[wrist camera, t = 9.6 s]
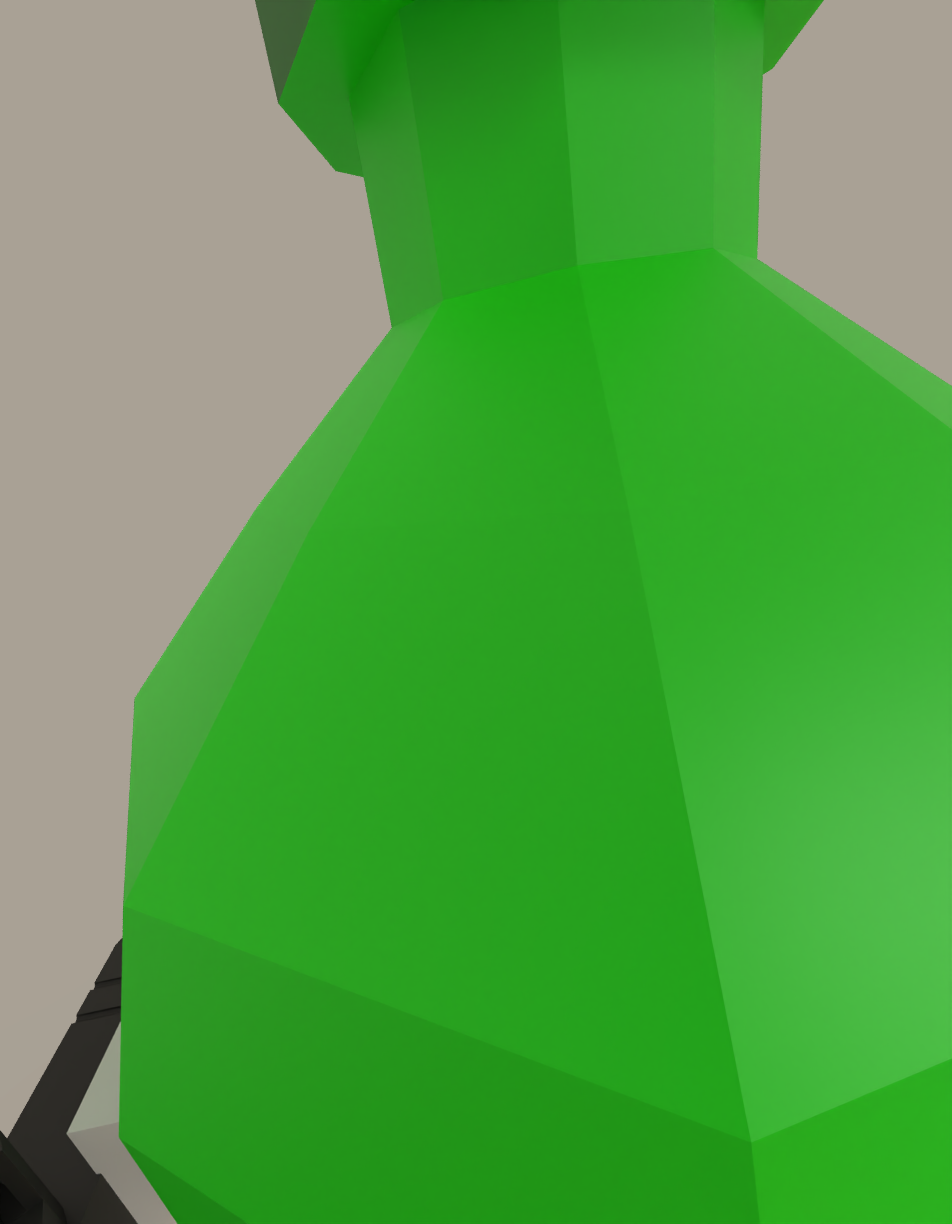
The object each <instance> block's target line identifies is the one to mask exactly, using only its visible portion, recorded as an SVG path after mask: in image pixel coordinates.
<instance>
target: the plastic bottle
mask: <svg viewBox="0 0 952 1224" xmlns="http://www.w3.org/2000/svg"><path fill="white" fill-rule="evenodd" d="M255 2H256V7H257V11H258V15H259V20H260V24H261V29H262V33H263V38H264V41H265V46H266V51H267V56H268V60H269V64H270V69H271V73H272V78H273V82H274V86H275V91H276V96H277V100H278V103H279V105H280V106H281V107H282V108H283V109H284V111H285V112H286V113H287V114H288V115H289V116H290V118H291V119H292V120H293V121H294V122H295V124H296V125H297V126H298V127H299V128H300V130H301V131H302V132H303V133H304V134H305V135H306V136H307V138H308V139H309V140H310V141H311V142H312V144H313V145H314V146H315V147H316V148H317V150H318V151H319V152H320V153H321V154H322V155H323V156H324V158H325V159H326V160H327V161H328V162H329V164H330V165H331V166H332V167H333V168H334V169H335V171H338V172H343V173H347V174H352V175H356V176H361V177H364V181H365V187H366V192H367V197H368V203H369V208H370V213H371V219H372V224H373V229H374V235H375V240H376V245H377V251H378V256H379V262H380V267H381V272H382V277H383V283H384V288H385V293H386V299H387V304H388V309H389V315H390V320H391V325H392V328H391V330H390V331H389V332H388V334H387V335H386V336H385V338H384V339H383V340H382V342H381V343H380V345H379V346H378V347H377V348H376V350H375V351H374V352H373V354H372V355H371V356H370V358H369V359H368V360H367V362H366V363H365V364H364V366H363V367H362V368H361V370H360V371H359V372H358V374H357V375H356V376H355V378H354V379H353V380H352V382H351V383H350V384H349V386H348V387H347V388H346V390H345V391H344V392H343V394H342V395H341V396H340V398H339V399H338V400H337V402H336V403H335V404H334V406H333V407H332V408H331V410H330V411H329V412H328V414H327V415H326V416H325V418H324V419H323V420H322V422H321V423H320V424H319V426H318V427H317V428H316V430H315V431H314V432H313V434H312V435H311V436H310V437H309V439H308V440H307V441H306V443H305V444H304V445H303V447H302V448H301V449H300V451H299V452H298V454H297V455H296V456H295V457H294V459H293V460H292V461H291V463H290V464H289V465H288V467H287V468H286V469H285V471H284V472H283V473H282V475H281V476H280V477H279V479H278V480H277V481H276V483H275V484H274V485H273V487H272V488H271V489H270V491H269V492H268V493H267V495H266V496H265V497H264V499H263V500H262V502H261V503H260V504H259V506H258V507H257V508H256V510H255V511H254V513H253V514H252V516H251V518H250V519H249V521H248V522H247V524H246V526H245V527H244V529H243V530H242V532H241V533H240V535H239V536H238V538H237V540H236V541H235V542H234V544H233V546H232V547H231V549H230V550H229V552H228V553H227V555H226V557H225V558H224V560H223V561H222V563H221V564H220V566H219V568H218V569H217V571H216V572H215V574H214V576H213V577H212V579H211V580H210V582H209V583H208V585H207V586H206V588H205V589H204V591H203V592H202V594H201V596H200V597H199V599H198V600H197V602H196V603H195V605H194V607H193V608H192V610H191V611H190V613H189V615H188V616H187V618H186V619H185V621H184V622H183V624H182V625H181V627H180V629H179V630H178V632H177V633H176V635H175V636H174V638H173V639H172V641H171V643H170V644H169V646H168V647H167V649H166V651H165V652H164V653H163V655H162V657H161V658H160V660H159V661H158V663H157V664H156V666H155V668H154V669H153V671H152V672H151V674H150V675H149V677H148V678H147V680H146V682H145V683H144V685H143V686H142V688H141V689H140V691H139V693H138V694H137V696H136V697H135V701H134V719H133V739H132V756H131V774H130V792H129V810H128V828H127V829H128V830H127V846H126V847H127V848H126V865H125V866H126V867H125V883H124V901H123V942H122V992H121V1041H120V1091H119V1139H120V1140H121V1142H122V1143H123V1145H124V1146H125V1148H126V1149H127V1151H128V1152H129V1153H130V1155H131V1156H132V1158H133V1159H134V1161H135V1162H136V1164H137V1165H138V1167H139V1168H140V1170H141V1171H142V1173H143V1174H144V1176H145V1177H146V1178H147V1180H148V1181H149V1183H150V1184H151V1186H152V1187H153V1189H154V1190H155V1192H156V1193H157V1195H158V1196H159V1198H160V1199H161V1201H162V1202H163V1203H164V1205H165V1206H166V1208H167V1209H168V1211H169V1212H170V1214H171V1215H172V1217H173V1218H174V1220H175V1221H176V1223H177V1224H952V386H951V385H949V384H948V383H946V382H945V381H943V380H942V379H940V378H939V377H937V376H936V375H934V374H932V373H931V372H929V371H928V370H926V369H925V368H923V367H921V366H920V365H919V364H917V363H915V362H914V361H913V360H911V359H909V358H908V357H906V356H905V355H903V354H902V353H900V352H899V351H897V350H896V349H894V348H893V347H891V346H890V345H888V344H887V343H885V342H884V341H882V340H880V339H879V338H877V337H876V336H874V335H873V334H871V333H870V332H868V331H867V330H865V329H864V328H862V327H861V326H859V325H858V324H856V323H855V322H853V321H851V320H850V319H848V318H847V317H845V316H844V315H842V314H841V313H839V312H838V311H836V310H835V309H833V308H832V307H830V306H828V305H827V304H825V303H824V302H822V301H821V300H819V299H818V298H816V297H815V296H813V295H812V294H810V293H809V292H807V291H805V290H804V289H803V288H801V287H799V286H798V285H796V284H795V283H793V282H792V281H790V280H789V279H787V278H785V277H784V276H783V275H781V274H780V273H778V272H777V271H775V270H773V269H772V268H770V267H769V266H767V265H766V264H764V263H763V262H761V261H760V260H758V259H757V245H758V212H759V178H760V143H761V111H762V79H763V76H762V75H763V74H765V73H766V72H768V71H769V70H771V69H772V68H773V67H774V66H775V64H776V63H777V62H778V60H779V59H780V58H781V57H782V55H783V54H784V53H785V51H786V50H787V48H788V47H789V46H790V44H791V43H792V42H793V41H794V39H795V38H796V36H797V35H798V34H799V33H800V31H801V30H802V29H803V27H804V26H805V25H806V23H807V22H808V21H809V19H810V18H811V16H812V15H813V14H814V13H815V11H816V10H817V9H818V7H819V6H820V5H821V3H822V2H823V0H255Z"/></svg>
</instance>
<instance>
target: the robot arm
mask: <svg viewBox="0 0 952 1224" xmlns="http://www.w3.org/2000/svg"><path fill="white" fill-rule="evenodd" d="M122 942H123V938H122V939H121V940H120V941H119V942H118V943H117V944H116V945H115V947H114V949H113V951H112V952H111V954H110V956H109V958H108V960H107V962H106V963H105V965H104V967H103V969H102V970H101V972H100V974H99V976H98V978H97V979H96V981H95V988H94V990H90V992H89V993H88V995H87V997H86V999H85V1001H84V1003H83V1004H82V1006H81V1008H80V1010H79V1011H78V1013H77V1020H76V1022H75V1023H73V1024H71V1026H70V1027H69V1029H68V1031H67V1033H66V1035H65V1037H64V1038H63V1040H62V1042H61V1044H60V1045H59V1047H58V1049H57V1051H56V1053H55V1054H54V1056H53V1058H52V1060H51V1061H50V1063H49V1065H48V1067H47V1069H46V1070H45V1072H44V1074H43V1076H42V1077H41V1079H40V1081H39V1083H38V1085H37V1086H36V1088H35V1090H34V1092H33V1094H32V1095H31V1097H30V1099H29V1101H28V1102H27V1104H26V1106H25V1108H24V1109H23V1111H22V1113H21V1115H20V1117H19V1118H18V1120H17V1122H16V1124H15V1126H14V1127H13V1129H12V1131H11V1133H10V1134H9V1136H8V1138H6V1137H5V1136H4V1134H3V1133H2V1132H1V1131H0V1224H177V1223H176V1221H175V1220H174V1218H173V1217H172V1215H171V1214H170V1212H169V1211H168V1209H167V1208H166V1206H165V1205H164V1203H163V1202H162V1201H161V1199H160V1198H159V1196H158V1195H157V1193H156V1192H155V1190H154V1189H153V1187H152V1186H151V1184H150V1183H149V1181H148V1180H147V1178H146V1177H145V1176H144V1174H143V1173H142V1171H141V1170H140V1168H139V1167H138V1165H137V1164H136V1162H135V1161H134V1159H133V1158H132V1156H131V1155H130V1153H129V1152H128V1151H127V1149H126V1148H125V1146H124V1145H123V1143H122V1142H121V1140H120V1139H119V1091H120V1041H121V992H122Z"/></svg>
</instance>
